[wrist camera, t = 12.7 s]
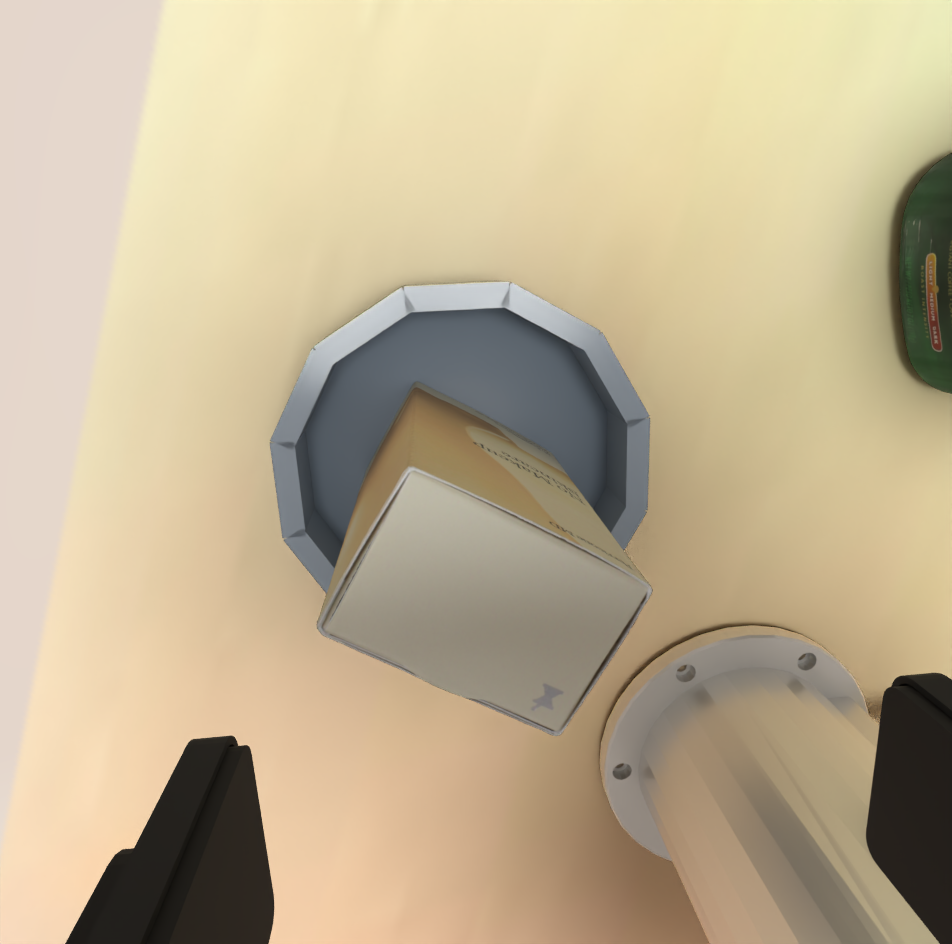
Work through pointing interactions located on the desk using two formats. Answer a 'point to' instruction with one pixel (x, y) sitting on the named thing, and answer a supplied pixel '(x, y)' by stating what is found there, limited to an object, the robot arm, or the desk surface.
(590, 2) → the desk surface
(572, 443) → the slate bowl
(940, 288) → the coffee jar
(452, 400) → the skincare box
